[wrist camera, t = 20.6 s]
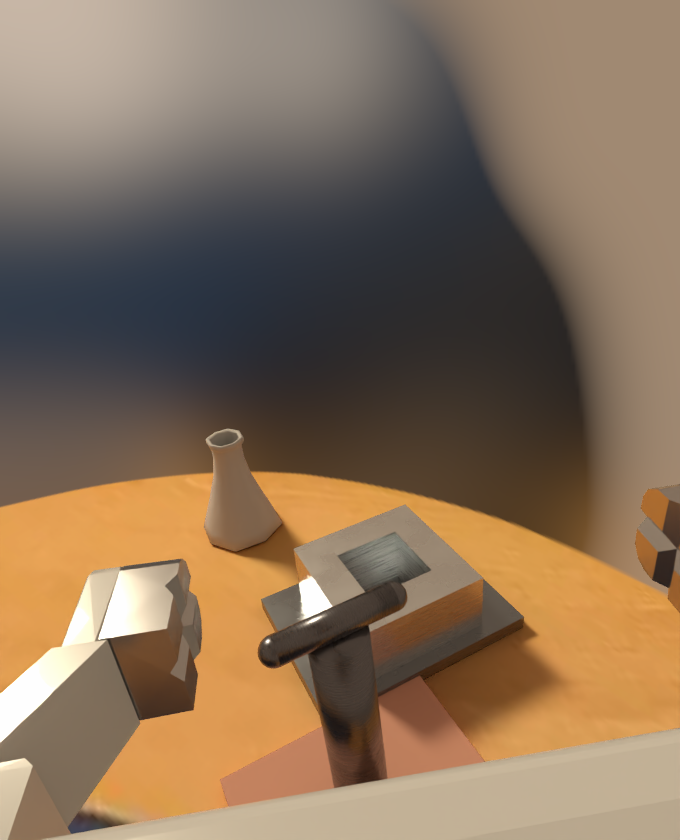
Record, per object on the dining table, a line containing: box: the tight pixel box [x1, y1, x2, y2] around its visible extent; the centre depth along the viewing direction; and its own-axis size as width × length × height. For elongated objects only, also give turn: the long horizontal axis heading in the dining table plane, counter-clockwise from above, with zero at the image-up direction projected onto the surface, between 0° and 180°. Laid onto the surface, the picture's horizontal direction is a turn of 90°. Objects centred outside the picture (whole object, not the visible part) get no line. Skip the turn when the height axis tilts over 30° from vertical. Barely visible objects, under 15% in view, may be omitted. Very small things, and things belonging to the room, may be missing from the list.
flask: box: [204, 429, 282, 552], centre depth 55 cm, size 7×7×10 cm
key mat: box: [220, 675, 485, 806], centre depth 33 cm, size 14×10×1 cm
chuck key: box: [258, 581, 407, 788], centre depth 30 cm, size 7×3×14 cm, turn 116°
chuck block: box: [261, 505, 524, 715], centre depth 44 cm, size 16×12×6 cm
